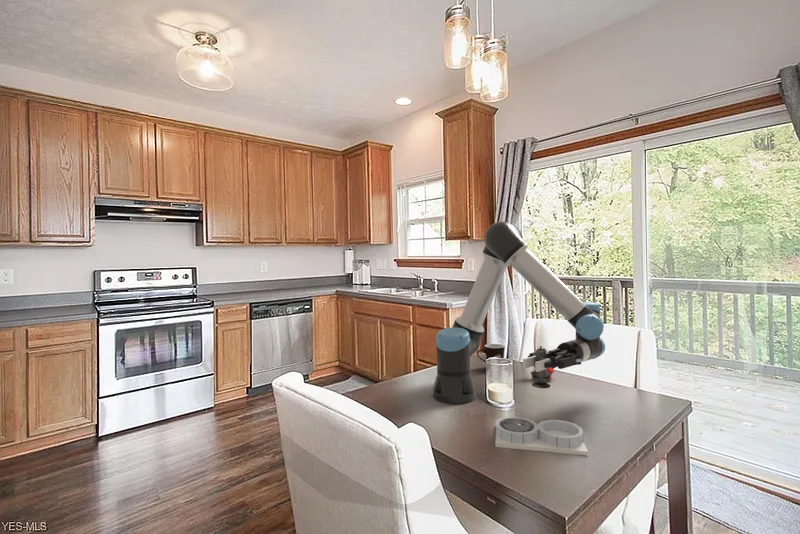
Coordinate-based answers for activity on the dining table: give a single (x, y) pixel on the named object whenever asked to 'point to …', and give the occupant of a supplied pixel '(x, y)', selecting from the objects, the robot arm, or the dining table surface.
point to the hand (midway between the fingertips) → (530, 365)
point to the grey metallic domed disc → (516, 425)
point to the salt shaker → (542, 375)
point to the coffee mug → (493, 351)
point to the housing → (543, 437)
